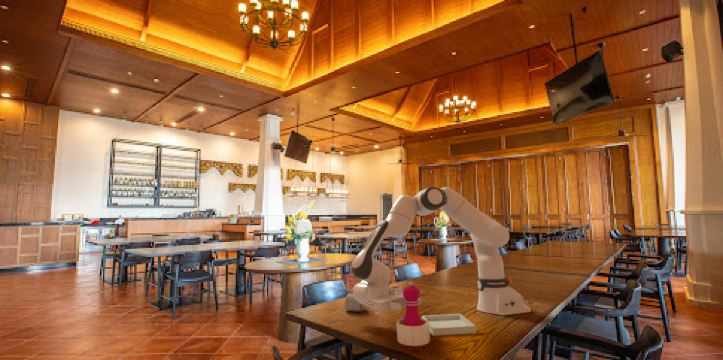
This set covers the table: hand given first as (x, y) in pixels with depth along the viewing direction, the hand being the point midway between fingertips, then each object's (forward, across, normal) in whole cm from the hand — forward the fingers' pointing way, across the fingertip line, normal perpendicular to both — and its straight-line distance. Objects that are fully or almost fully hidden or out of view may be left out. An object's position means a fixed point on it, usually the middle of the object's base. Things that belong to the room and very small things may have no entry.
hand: (411, 304), depth 121 cm
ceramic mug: (-44, +10, +12) cm, 47 cm away
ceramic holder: (0, 0, +12) cm, 12 cm away
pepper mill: (0, 0, +12) cm, 12 cm away
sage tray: (0, +19, +12) cm, 23 cm away
